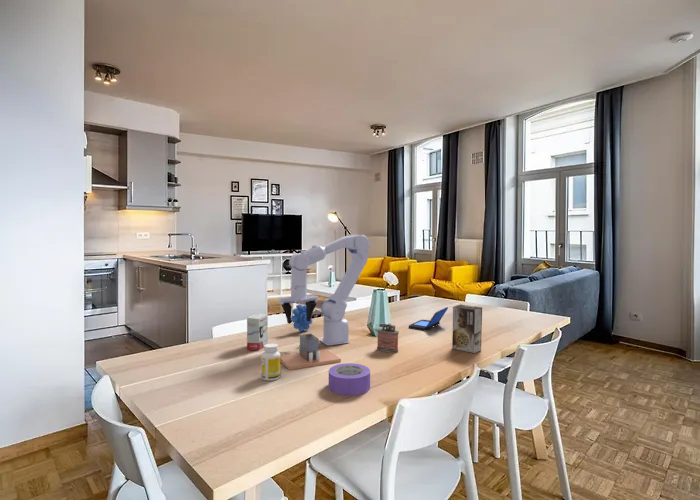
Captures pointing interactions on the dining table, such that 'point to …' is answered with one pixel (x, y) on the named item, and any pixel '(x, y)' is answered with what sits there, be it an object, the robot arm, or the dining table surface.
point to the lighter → (387, 338)
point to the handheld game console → (429, 321)
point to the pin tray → (299, 362)
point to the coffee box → (467, 328)
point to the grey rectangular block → (308, 346)
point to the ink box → (257, 331)
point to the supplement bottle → (270, 362)
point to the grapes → (300, 318)
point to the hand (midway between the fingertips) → (298, 321)
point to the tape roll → (349, 379)
